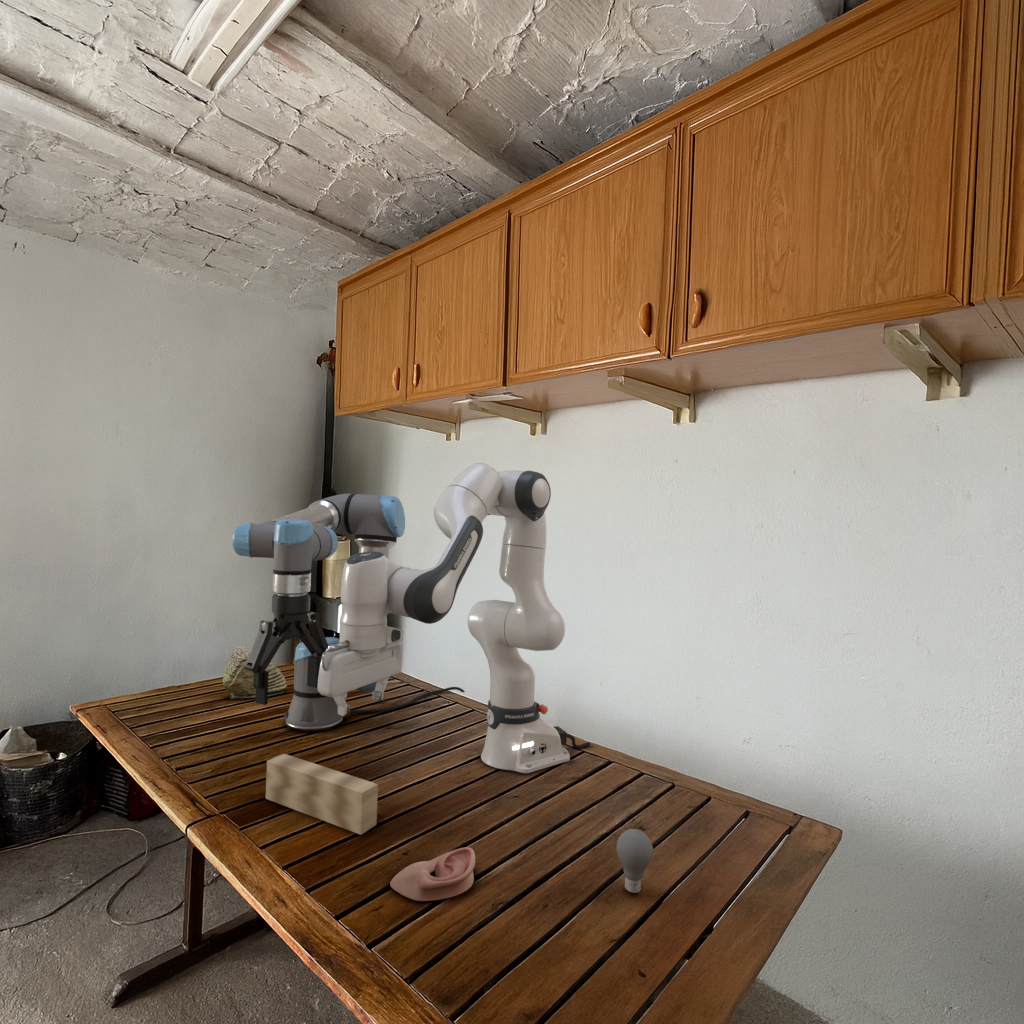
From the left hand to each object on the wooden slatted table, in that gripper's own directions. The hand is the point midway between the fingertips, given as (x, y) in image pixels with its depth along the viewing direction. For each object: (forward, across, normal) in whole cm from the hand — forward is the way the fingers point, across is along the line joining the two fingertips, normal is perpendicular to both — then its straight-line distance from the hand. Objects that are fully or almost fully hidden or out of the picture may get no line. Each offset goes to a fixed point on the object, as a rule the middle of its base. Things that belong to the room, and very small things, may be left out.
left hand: (288, 694), depth 132 cm
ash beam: (+22, 0, -10) cm, 24 cm away
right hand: (-1, 0, -20) cm, 20 cm away
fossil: (+22, +41, +60) cm, 76 cm away
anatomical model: (+22, -7, -44) cm, 49 cm away
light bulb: (+22, +9, -73) cm, 76 cm away
